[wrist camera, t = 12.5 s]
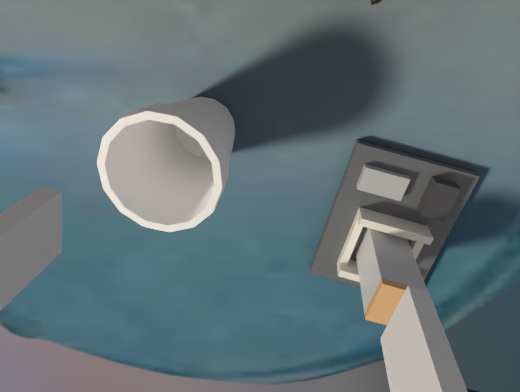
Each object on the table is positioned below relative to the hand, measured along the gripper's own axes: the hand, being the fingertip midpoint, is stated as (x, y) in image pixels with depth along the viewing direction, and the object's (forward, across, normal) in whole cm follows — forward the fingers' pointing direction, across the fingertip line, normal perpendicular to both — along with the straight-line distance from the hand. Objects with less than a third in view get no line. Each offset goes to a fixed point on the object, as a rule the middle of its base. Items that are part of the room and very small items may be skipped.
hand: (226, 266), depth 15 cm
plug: (+25, +14, -11) cm, 31 cm away
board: (+26, +14, -9) cm, 31 cm away
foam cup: (+27, -7, -4) cm, 28 cm away
